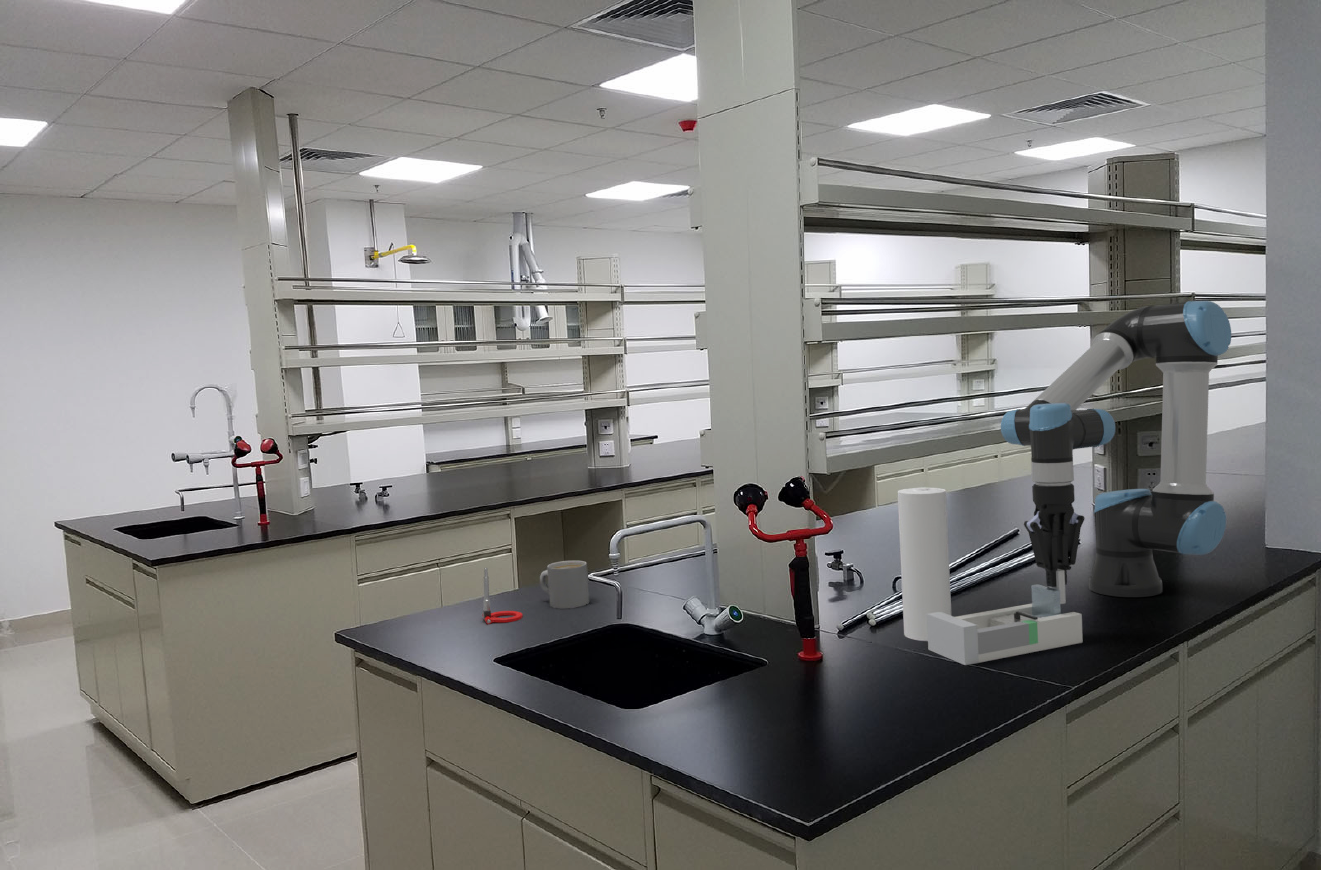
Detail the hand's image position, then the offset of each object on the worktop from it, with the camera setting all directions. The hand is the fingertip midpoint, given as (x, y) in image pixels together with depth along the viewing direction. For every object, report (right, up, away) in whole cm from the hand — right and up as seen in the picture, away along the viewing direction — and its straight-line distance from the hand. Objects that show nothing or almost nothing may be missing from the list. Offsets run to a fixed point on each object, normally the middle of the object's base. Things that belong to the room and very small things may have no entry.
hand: (1057, 602), depth 181 cm
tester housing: (-12, -8, -4) cm, 15 cm away
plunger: (-9, -6, -4) cm, 11 cm away
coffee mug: (-102, -10, +54) cm, 116 cm away
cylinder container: (-23, -8, +7) cm, 26 cm away
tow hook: (-116, -12, +41) cm, 124 cm away
